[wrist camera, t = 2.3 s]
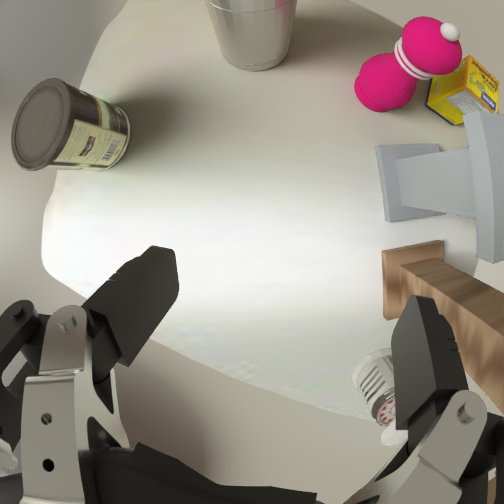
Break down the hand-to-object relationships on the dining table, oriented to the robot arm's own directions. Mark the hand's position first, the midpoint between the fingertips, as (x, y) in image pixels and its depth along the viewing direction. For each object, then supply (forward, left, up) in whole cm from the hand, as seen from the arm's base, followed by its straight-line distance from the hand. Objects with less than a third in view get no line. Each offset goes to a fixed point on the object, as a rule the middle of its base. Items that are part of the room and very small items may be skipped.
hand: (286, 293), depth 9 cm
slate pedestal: (-2, +20, -27) cm, 34 cm away
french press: (+27, +14, -27) cm, 41 cm away
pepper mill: (-15, +17, -27) cm, 36 cm away
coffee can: (-16, -22, -27) cm, 38 cm away
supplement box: (-14, +29, -27) cm, 42 cm away
